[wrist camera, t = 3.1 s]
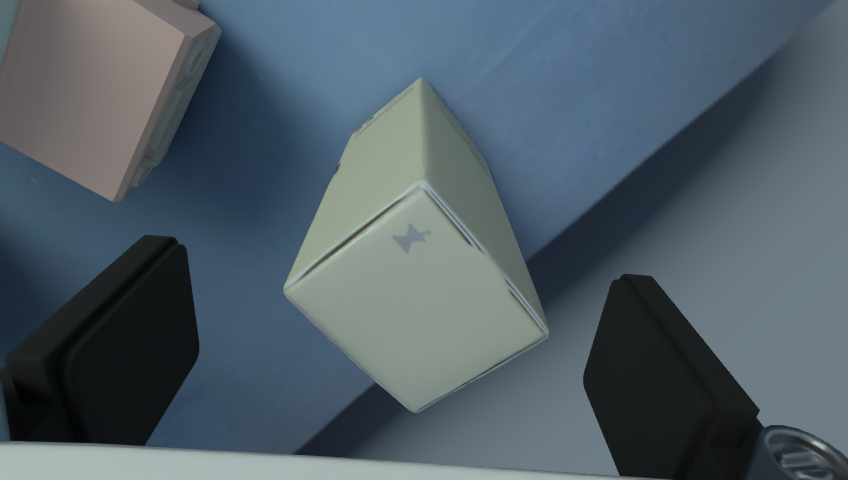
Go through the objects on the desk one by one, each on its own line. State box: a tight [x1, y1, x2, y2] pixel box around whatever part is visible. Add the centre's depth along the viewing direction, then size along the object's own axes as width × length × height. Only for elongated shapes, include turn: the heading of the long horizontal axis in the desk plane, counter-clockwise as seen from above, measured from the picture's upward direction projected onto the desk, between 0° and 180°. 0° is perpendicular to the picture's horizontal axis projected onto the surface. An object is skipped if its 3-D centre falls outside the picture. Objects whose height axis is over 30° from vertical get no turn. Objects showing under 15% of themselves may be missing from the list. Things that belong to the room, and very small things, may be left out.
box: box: [284, 77, 550, 413], centre depth 17 cm, size 5×4×13 cm
